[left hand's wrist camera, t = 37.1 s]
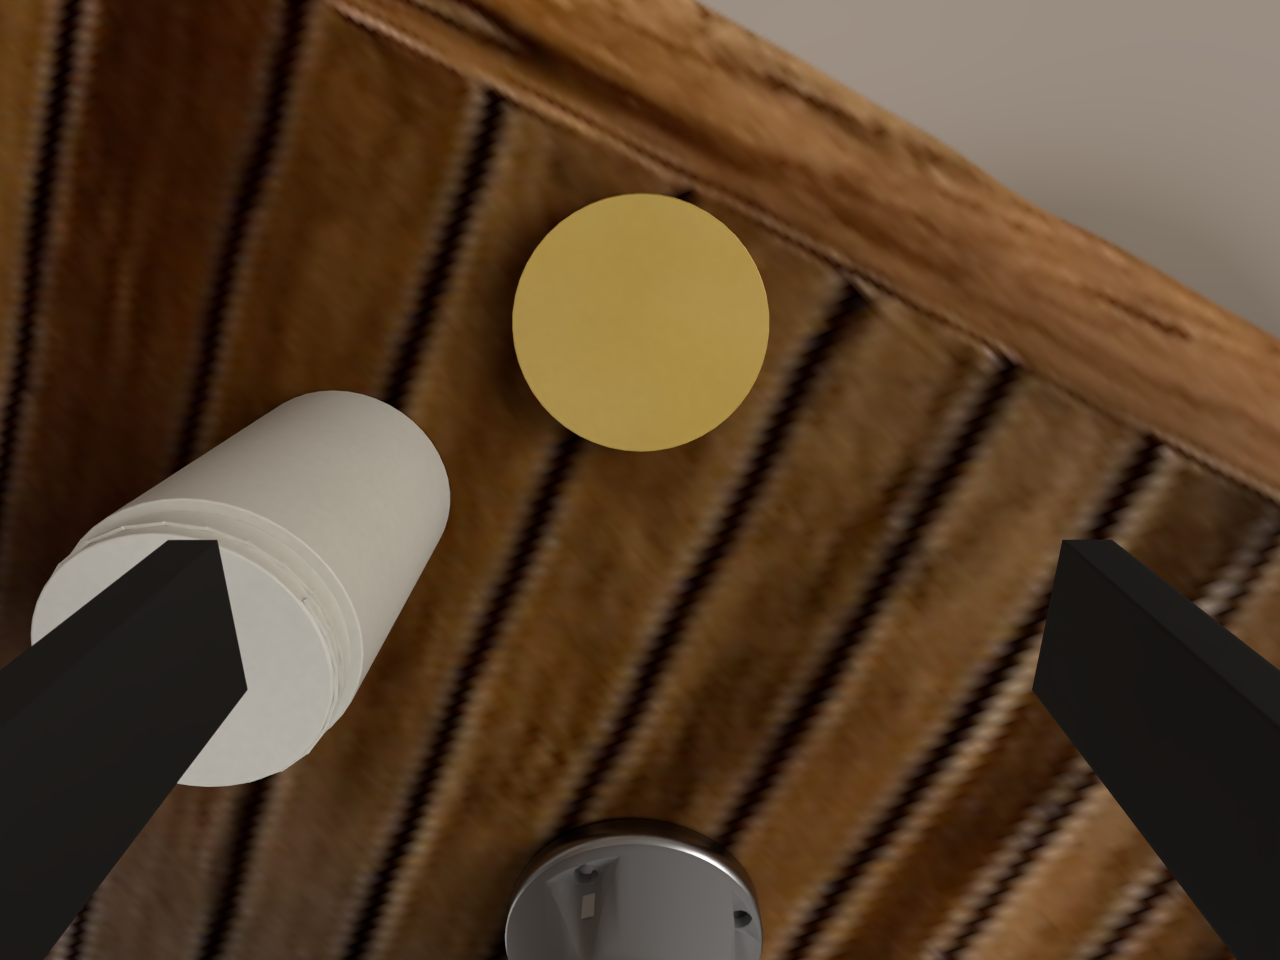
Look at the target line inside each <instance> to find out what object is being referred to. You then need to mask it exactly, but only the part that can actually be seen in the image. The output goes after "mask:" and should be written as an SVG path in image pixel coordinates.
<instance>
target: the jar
mask: <svg viewBox="0 0 1280 960" xmlns="http://www.w3.org/2000/svg"><path fill="white" fill-rule="evenodd" d="M449 508H450V489H449V482H448V477H447V474H446V471H445V467H444V465H443V463H442V460H441V458H440V456H439V454H438V452H437V450H436V449H435V447H434V445H433V444H432V442H431V441H430V440H429V438H428V437H427V436H426V435H425V433H424V432H423V431H422V430H421V429H420V428H419V427H418V426H417V425H416V424H415V423H414V422H413V421H412V420H410V419H409V418H408V417H407V416H405V415H404V414H403V413H402V412H400V411H398V410H397V409H395V408H393V407H392V406H390V405H388V404H386V403H384V402H382V401H380V400H377V399H375V398H372V397H369V396H366V395H363V394H358V393H353V392H348V391H319V392H313V393H308V394H304V395H301V396H298V397H295V398H293V399H291V400H289V401H287V402H285V403H283V404H281V405H280V406H278V407H276V408H275V409H273V410H272V411H270V412H269V413H267V414H266V415H264V416H263V417H261V418H260V419H258V420H256V421H255V422H253V423H252V424H250V425H249V426H247V427H246V428H244V429H243V430H241V431H239V432H238V433H236V434H235V435H233V436H232V437H230V438H229V439H227V440H226V441H224V442H222V443H221V444H219V445H218V446H216V447H215V448H213V449H212V450H210V451H209V452H207V453H205V454H204V455H202V456H201V457H199V458H198V459H196V460H195V461H193V462H192V463H190V464H188V465H187V466H185V467H184V468H182V469H181V470H179V471H178V472H176V473H175V474H173V475H171V476H170V477H168V478H167V479H165V480H164V481H162V482H161V483H159V484H158V485H156V486H154V487H153V488H151V489H150V490H148V491H147V492H145V493H144V494H142V495H141V496H139V497H137V498H136V499H134V500H133V501H131V502H130V503H128V504H127V505H125V506H124V507H122V508H121V509H119V510H117V511H116V512H114V513H113V514H111V515H110V516H108V517H107V518H105V519H104V520H102V521H101V522H100V523H98V524H97V525H95V526H94V527H93V528H92V529H91V530H90V531H89V532H88V533H87V534H86V535H85V536H84V537H83V538H82V539H81V540H80V541H79V542H78V544H77V545H76V547H75V548H74V549H73V551H72V552H71V554H70V555H69V556H68V557H66V558H65V559H64V560H63V561H62V562H60V563H59V564H58V565H57V567H56V569H55V571H54V572H53V574H52V576H51V578H50V579H49V580H48V582H47V583H46V585H45V586H44V588H43V590H42V592H41V594H40V596H39V598H38V601H37V603H36V607H35V610H34V614H33V618H32V627H31V645H32V646H33V645H34V644H35V643H36V642H38V641H39V640H40V639H42V638H43V637H44V636H45V635H47V634H48V633H49V632H51V631H52V630H53V629H54V628H56V627H57V626H58V625H60V624H61V623H62V622H63V621H65V620H66V619H67V618H68V617H70V616H71V615H72V614H74V613H75V612H76V611H77V610H79V609H80V608H81V607H83V606H84V605H85V604H86V603H88V602H89V601H90V600H92V599H93V598H94V597H95V596H97V595H98V594H99V593H101V592H102V591H103V590H104V589H106V588H107V587H108V586H110V585H111V584H112V583H113V582H115V581H116V580H117V579H119V578H120V577H121V576H122V575H124V574H125V573H126V572H128V571H129V570H130V569H131V568H133V567H134V566H135V565H137V564H138V563H139V562H140V561H142V560H143V559H144V558H145V557H147V556H148V555H149V554H151V553H152V552H153V551H154V550H156V549H157V548H158V547H160V546H161V545H162V544H163V543H165V542H166V541H167V540H218V545H219V550H220V555H221V560H222V565H223V570H224V575H225V580H226V585H227V590H228V594H229V599H230V604H231V609H232V614H233V619H234V624H235V629H236V634H237V639H238V644H239V649H240V654H241V659H242V664H243V669H244V673H245V678H246V683H247V688H248V690H247V691H246V693H245V694H244V695H243V697H242V698H241V699H240V701H239V702H238V703H237V705H236V706H235V707H234V708H233V710H232V711H231V712H230V714H229V715H228V716H227V718H226V719H225V720H224V722H223V723H222V724H221V726H220V727H219V728H218V730H217V731H216V732H215V734H214V735H213V736H212V738H211V739H210V740H209V741H208V743H207V744H206V745H205V747H204V748H203V749H202V751H201V752H200V753H199V755H198V756H197V757H196V759H195V760H194V761H193V763H192V764H191V765H190V767H189V768H188V769H187V771H186V772H185V773H184V774H183V776H182V777H181V778H180V780H179V781H178V782H177V783H178V784H184V785H191V786H206V787H215V786H230V785H236V784H243V783H247V782H249V783H250V782H252V781H255V780H258V779H261V778H264V777H266V776H269V775H272V774H275V773H277V772H280V771H281V772H282V771H283V770H285V769H286V768H288V767H289V766H291V765H292V764H293V763H295V762H296V761H298V760H299V759H301V758H302V757H303V756H305V755H306V754H308V753H309V752H310V751H311V750H312V748H313V747H314V746H315V744H316V743H317V742H318V741H319V739H320V738H321V737H322V735H323V734H324V733H325V732H326V731H327V730H328V729H329V728H330V727H332V726H333V725H334V723H335V722H336V721H337V720H338V719H339V718H340V717H341V716H342V715H343V713H344V712H345V710H346V709H347V707H348V706H349V704H350V703H351V701H352V699H353V698H354V696H355V694H356V692H357V690H358V688H359V687H360V685H361V683H362V681H363V679H364V677H365V676H366V674H367V672H368V670H369V668H370V666H371V665H372V663H373V661H374V659H375V657H376V655H377V654H378V652H379V650H380V648H381V646H382V644H383V643H384V641H385V639H386V637H387V635H388V633H389V632H390V630H391V628H392V626H393V624H394V622H395V621H396V619H397V617H398V615H399V613H400V611H401V610H402V608H403V606H404V604H405V602H406V600H407V599H408V597H409V595H410V593H411V591H412V589H413V588H414V586H415V584H416V582H417V580H418V578H419V577H420V575H421V573H422V571H423V569H424V567H425V566H426V564H427V562H428V560H429V558H430V556H431V555H432V553H433V551H434V549H435V547H436V545H437V544H438V542H439V540H440V538H441V536H442V534H443V531H444V529H445V526H446V523H447V520H448V516H449Z"/></svg>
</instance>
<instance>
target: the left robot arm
mask: <svg viewBox="0 0 1280 960" xmlns="http://www.w3.org/2000/svg"><path fill="white" fill-rule="evenodd" d="M247 690H248V688H247V683H246V678H245V673H244V669H243V664H242V659H241V654H240V649H239V644H238V639H237V634H236V629H235V624H234V619H233V614H232V609H231V604H230V599H229V594H228V590H227V585H226V580H225V575H224V570H223V565H222V560H221V555H220V550H219V545H218V540H167V541H166V542H165V543H163V544H162V545H161V546H160V547H158V548H157V549H156V550H154V551H153V552H152V553H151V554H149V555H148V556H147V557H145V558H144V559H143V560H142V561H140V562H139V563H138V564H137V565H135V566H134V567H133V568H131V569H130V570H129V571H128V572H126V573H125V574H124V575H122V576H121V577H120V578H119V579H117V580H116V581H115V582H113V583H112V584H111V585H110V586H108V587H107V588H106V589H104V590H103V591H102V592H101V593H99V594H98V595H97V596H95V597H94V598H93V599H92V600H90V601H89V602H88V603H86V604H85V605H84V606H83V607H81V608H80V609H79V610H77V611H76V612H75V613H74V614H72V615H71V616H70V617H68V618H67V619H66V620H65V621H63V622H62V623H61V624H60V625H58V626H57V627H56V628H54V629H53V630H52V631H51V632H49V633H48V634H47V635H45V636H44V637H43V638H42V639H40V640H39V641H38V642H36V643H35V644H34V645H33V646H31V647H30V648H29V649H27V650H26V651H25V652H24V653H22V654H21V655H20V656H18V657H17V658H16V659H15V660H13V661H12V662H11V663H9V664H8V665H7V666H6V667H4V668H3V669H2V670H0V960H43V959H44V958H45V957H46V955H47V954H48V953H49V951H50V950H51V949H52V947H53V946H54V945H55V943H56V942H57V941H58V939H59V938H60V937H61V935H62V934H63V933H64V931H65V930H66V929H67V928H68V926H69V925H70V924H71V922H72V921H73V920H74V918H75V917H76V916H77V914H78V913H79V912H80V910H81V909H82V908H83V906H84V905H85V904H86V902H87V901H88V900H89V899H90V897H91V896H92V895H93V893H94V892H95V891H96V889H97V888H98V887H99V885H100V884H101V883H102V881H103V880H104V879H105V877H106V876H107V875H108V873H109V872H110V871H111V869H112V868H113V867H114V866H115V864H116V863H117V862H118V860H119V859H120V858H121V856H122V855H123V854H124V852H125V851H126V850H127V848H128V847H129V846H130V844H131V843H132V842H133V840H134V839H135V838H136V836H137V835H138V834H139V833H140V831H141V830H142V829H143V827H144V826H145V825H146V823H147V822H148V821H149V819H150V818H151V817H152V815H153V814H154V813H155V811H156V810H157V809H158V807H159V806H160V805H161V804H162V802H163V801H164V800H165V798H166V797H167V796H168V794H169V793H170V792H171V790H172V789H173V788H174V786H175V785H176V784H177V782H178V781H179V780H180V778H181V777H182V776H183V774H184V773H185V772H186V771H187V769H188V768H189V767H190V765H191V764H192V763H193V761H194V760H195V759H196V757H197V756H198V755H199V753H200V752H201V751H202V749H203V748H204V747H205V745H206V744H207V743H208V741H209V740H210V739H211V738H212V736H213V735H214V734H215V732H216V731H217V730H218V728H219V727H220V726H221V724H222V723H223V722H224V720H225V719H226V718H227V716H228V715H229V714H230V712H231V711H232V710H233V708H234V707H235V706H236V705H237V703H238V702H239V701H240V699H241V698H242V697H243V695H244V694H245V693H246V691H247ZM1032 690H1033V691H1034V693H1035V694H1036V695H1037V697H1038V698H1039V699H1040V701H1041V702H1042V703H1043V705H1044V706H1045V707H1046V709H1047V710H1048V711H1049V712H1050V714H1051V715H1052V716H1053V718H1054V719H1055V720H1056V722H1057V723H1058V724H1059V726H1060V727H1061V728H1062V730H1063V731H1064V732H1065V734H1066V735H1067V736H1068V738H1069V739H1070V740H1071V741H1072V743H1073V744H1074V745H1075V747H1076V748H1077V749H1078V751H1079V752H1080V753H1081V755H1082V756H1083V757H1084V759H1085V760H1086V761H1087V763H1088V764H1089V765H1090V767H1091V768H1092V769H1093V771H1094V772H1095V773H1096V774H1097V776H1098V777H1099V778H1100V780H1101V781H1102V782H1103V784H1104V785H1105V786H1106V788H1107V789H1108V790H1109V792H1110V793H1111V794H1112V796H1113V797H1114V798H1115V800H1116V801H1117V802H1118V804H1119V805H1120V806H1121V807H1122V809H1123V810H1124V811H1125V813H1126V814H1127V815H1128V817H1129V818H1130V819H1131V821H1132V822H1133V823H1134V825H1135V826H1136V827H1137V829H1138V830H1139V831H1140V833H1141V834H1142V835H1143V836H1144V838H1145V839H1146V840H1147V842H1148V843H1149V844H1150V846H1151V847H1152V848H1153V850H1154V851H1155V852H1156V854H1157V855H1158V856H1159V858H1160V859H1161V860H1162V862H1163V863H1164V864H1165V866H1166V867H1167V868H1168V869H1169V871H1170V872H1171V873H1172V875H1173V876H1174V877H1175V879H1176V880H1177V881H1178V883H1179V884H1180V885H1181V887H1182V888H1183V889H1184V891H1185V892H1186V893H1187V895H1188V896H1189V897H1190V899H1191V900H1192V901H1193V902H1194V904H1195V905H1196V906H1197V908H1198V909H1199V910H1200V912H1201V913H1202V914H1203V916H1204V917H1205V918H1206V920H1207V921H1208V922H1209V924H1210V925H1211V926H1212V928H1213V929H1214V930H1215V931H1216V933H1217V934H1218V935H1219V937H1220V938H1221V939H1222V941H1223V942H1224V943H1225V945H1226V946H1227V947H1228V949H1229V950H1230V951H1231V953H1232V954H1233V955H1234V957H1235V958H1236V959H1237V960H1280V670H1278V669H1277V668H1276V667H1274V666H1273V665H1272V664H1271V663H1269V662H1268V661H1267V660H1265V659H1264V658H1263V657H1262V656H1260V655H1259V654H1258V653H1256V652H1255V651H1254V650H1253V649H1251V648H1250V647H1249V646H1247V645H1246V644H1245V643H1244V642H1242V641H1241V640H1240V639H1238V638H1237V637H1236V636H1235V635H1233V634H1232V633H1231V632H1229V631H1228V630H1227V629H1226V628H1224V627H1223V626H1222V625H1220V624H1219V623H1218V622H1217V621H1215V620H1214V619H1213V618H1212V617H1210V616H1209V615H1208V614H1206V613H1205V612H1204V611H1203V610H1201V609H1200V608H1199V607H1197V606H1196V605H1195V604H1194V603H1192V602H1191V601H1190V600H1188V599H1187V598H1186V597H1185V596H1183V595H1182V594H1181V593H1179V592H1178V591H1177V590H1176V589H1174V588H1173V587H1172V586H1170V585H1169V584H1168V583H1167V582H1165V581H1164V580H1163V579H1161V578H1160V577H1159V576H1158V575H1156V574H1155V573H1154V572H1152V571H1151V570H1150V569H1149V568H1147V567H1146V566H1145V565H1143V564H1142V563H1141V562H1140V561H1138V560H1137V559H1136V558H1135V557H1133V556H1132V555H1131V554H1129V553H1128V552H1127V551H1126V550H1124V549H1123V548H1122V547H1120V546H1119V545H1118V544H1117V543H1115V542H1114V541H1113V540H1062V545H1061V550H1060V555H1059V560H1058V565H1057V570H1056V575H1055V580H1054V585H1053V590H1052V594H1051V599H1050V604H1049V609H1048V614H1047V619H1046V624H1045V629H1044V634H1043V639H1042V644H1041V649H1040V654H1039V659H1038V664H1037V669H1036V673H1035V678H1034V683H1033V688H1032ZM505 946H506V951H507V956H508V960H760V956H761V952H762V946H763V930H762V923H761V917H760V911H759V905H758V899H757V894H756V891H755V888H754V886H753V883H752V881H751V879H750V877H749V875H748V874H747V872H746V870H745V869H744V868H743V866H742V865H741V864H740V863H739V861H738V860H737V859H736V858H735V857H734V856H733V855H732V854H731V853H730V852H728V851H727V850H726V849H725V848H724V847H722V846H721V845H719V844H718V843H716V842H715V841H713V840H712V839H710V838H708V837H706V836H704V835H702V834H700V833H698V832H696V831H693V830H691V829H688V828H685V827H682V826H679V825H675V824H671V823H666V822H661V821H654V820H644V819H626V820H614V821H607V822H602V823H597V824H593V825H589V826H586V827H583V828H580V829H577V830H575V831H572V832H570V833H568V834H566V835H564V836H562V837H560V838H558V839H556V840H555V841H553V842H552V843H550V844H549V845H547V846H546V847H545V848H543V849H542V850H541V851H540V852H539V853H538V854H536V855H535V856H534V857H533V858H532V859H531V861H530V862H529V863H528V864H527V865H526V867H525V868H524V870H523V871H522V872H521V874H520V876H519V878H518V880H517V882H516V884H515V886H514V889H513V892H512V896H511V901H510V906H509V912H508V918H507V923H506V931H505Z"/></svg>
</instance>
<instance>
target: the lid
mask: <svg viewBox="0 0 1280 960" xmlns="http://www.w3.org/2000/svg"><path fill="white" fill-rule="evenodd" d="M512 331H513V340H514V347H515V351H516V355H517V359H518V363H519V365H520V368H521V370H522V373H523V375H524V378H525V380H526V381H527V383H528V385H529V387H530V389H531V391H532V392H533V394H534V395H535V396H536V398H537V399H538V400H539V402H540V403H541V405H542V406H543V407H544V408H545V409H546V410H547V411H548V412H549V413H550V414H551V415H552V416H553V417H554V418H555V419H556V420H557V421H559V422H560V423H561V424H562V425H563V426H565V427H566V428H568V429H569V430H571V431H572V432H574V433H576V434H577V435H579V436H581V437H583V438H585V439H587V440H589V441H591V442H593V443H597V444H600V445H603V446H606V447H609V448H614V449H619V450H625V451H657V450H662V449H667V448H672V447H676V446H679V445H682V444H685V443H688V442H690V441H692V440H694V439H696V438H699V437H701V436H703V435H704V434H706V433H707V432H709V431H711V430H712V429H714V428H715V427H717V426H718V425H719V424H720V423H722V422H723V421H724V420H725V419H727V418H728V417H729V416H730V415H731V414H732V413H733V412H734V410H735V409H736V408H737V407H738V406H739V405H740V404H741V402H742V401H743V400H744V398H745V397H746V396H747V394H748V393H749V391H750V389H751V388H752V386H753V384H754V382H755V380H756V379H757V376H758V374H759V371H760V369H761V366H762V364H763V361H764V357H765V353H766V349H767V343H768V335H769V309H768V302H767V296H766V292H765V288H764V285H763V281H762V278H761V276H760V274H759V271H758V269H757V267H756V264H755V263H754V261H753V259H752V258H751V256H750V254H749V253H748V251H747V249H746V248H745V247H744V245H743V244H742V243H741V242H740V240H739V239H738V238H737V237H736V235H735V234H733V233H732V232H731V231H730V230H729V229H728V228H727V227H726V226H725V225H724V224H723V223H722V222H720V221H719V220H718V219H716V218H715V217H713V216H712V215H711V214H709V213H708V212H706V211H704V210H702V209H700V208H699V207H697V206H695V205H693V204H691V203H689V202H686V201H683V200H680V199H678V198H675V197H671V196H666V195H661V194H654V193H627V194H620V195H616V196H611V197H607V198H604V199H601V200H598V201H596V202H593V203H591V204H589V205H587V206H585V207H583V208H581V209H579V210H577V211H576V212H574V213H572V214H571V215H570V216H568V217H567V218H565V219H564V220H563V221H561V222H560V223H559V224H558V225H556V226H555V227H554V228H553V229H552V230H551V231H550V232H549V233H548V234H547V235H546V236H545V237H544V239H543V240H542V241H541V242H540V244H539V245H538V246H537V247H536V249H535V250H534V252H533V253H532V255H531V257H530V258H529V260H528V262H527V263H526V266H525V268H524V270H523V273H522V275H521V277H520V280H519V283H518V287H517V290H516V294H515V299H514V306H513V314H512Z"/></svg>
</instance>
